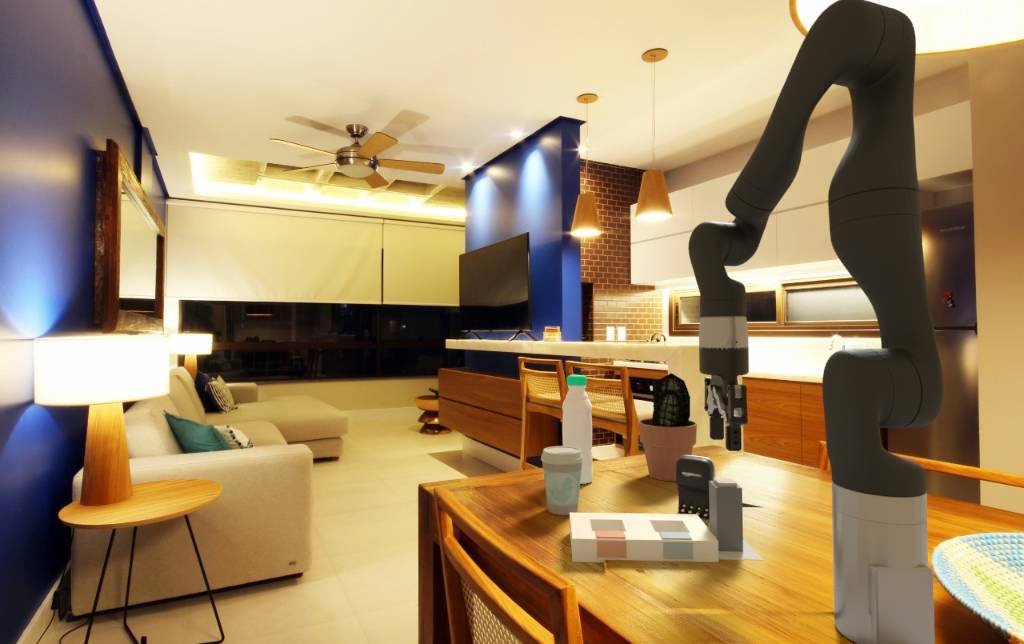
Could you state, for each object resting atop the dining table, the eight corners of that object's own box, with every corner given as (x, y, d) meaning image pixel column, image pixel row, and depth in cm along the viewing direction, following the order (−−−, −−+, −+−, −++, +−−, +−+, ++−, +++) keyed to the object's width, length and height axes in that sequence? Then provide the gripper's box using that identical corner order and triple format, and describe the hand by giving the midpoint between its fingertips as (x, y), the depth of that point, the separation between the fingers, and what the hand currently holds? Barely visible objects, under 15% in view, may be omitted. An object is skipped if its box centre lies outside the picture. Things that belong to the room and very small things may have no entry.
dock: (719, 565, 82) (718, 540, 82) (572, 562, 83) (572, 537, 84) (697, 535, 94) (696, 513, 94) (569, 532, 96) (569, 511, 96)
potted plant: (628, 471, 136) (627, 372, 137) (675, 467, 140) (674, 370, 141) (659, 486, 123) (657, 376, 124) (709, 481, 127) (708, 374, 128)
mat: (763, 563, 83) (763, 559, 83) (709, 562, 83) (709, 558, 83) (740, 538, 93) (740, 535, 93) (692, 537, 93) (692, 534, 93)
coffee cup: (534, 513, 106) (533, 452, 106) (551, 501, 113) (551, 443, 114) (575, 520, 102) (574, 456, 102) (590, 507, 109) (589, 447, 110)
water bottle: (557, 479, 130) (556, 375, 130) (582, 475, 133) (581, 373, 133) (572, 486, 124) (571, 377, 124) (598, 483, 127) (597, 375, 127)
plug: (743, 551, 86) (742, 484, 86) (717, 551, 86) (716, 484, 86) (734, 541, 90) (733, 477, 90) (709, 541, 90) (708, 477, 90)
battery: (673, 516, 103) (672, 456, 104) (680, 511, 106) (679, 452, 107) (711, 524, 99) (710, 461, 99) (717, 518, 102) (716, 457, 103)
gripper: (764, 346, 81) (765, 455, 81) (732, 343, 95) (733, 436, 95) (712, 346, 81) (714, 454, 81) (688, 343, 96) (690, 435, 96)
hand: (724, 444), depth 88 cm, fingers open, 8 cm apart
